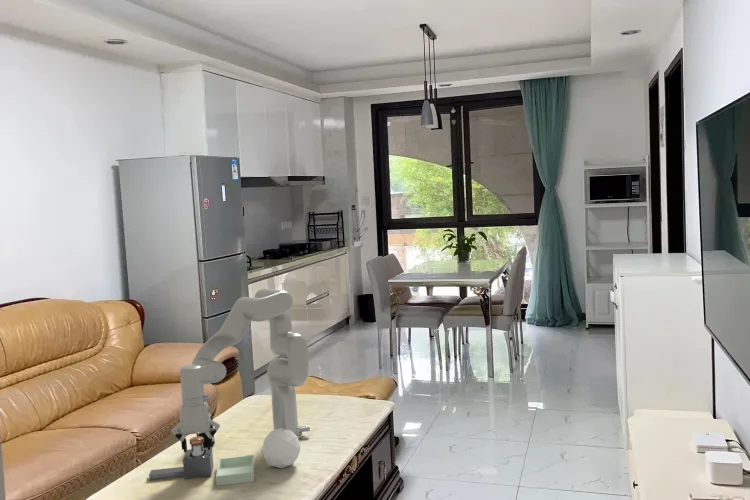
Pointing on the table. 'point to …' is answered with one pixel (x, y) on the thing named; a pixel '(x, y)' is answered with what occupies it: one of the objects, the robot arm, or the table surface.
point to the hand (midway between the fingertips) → (197, 449)
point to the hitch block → (188, 467)
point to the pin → (197, 446)
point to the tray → (235, 470)
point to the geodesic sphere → (281, 448)
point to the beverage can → (207, 436)
